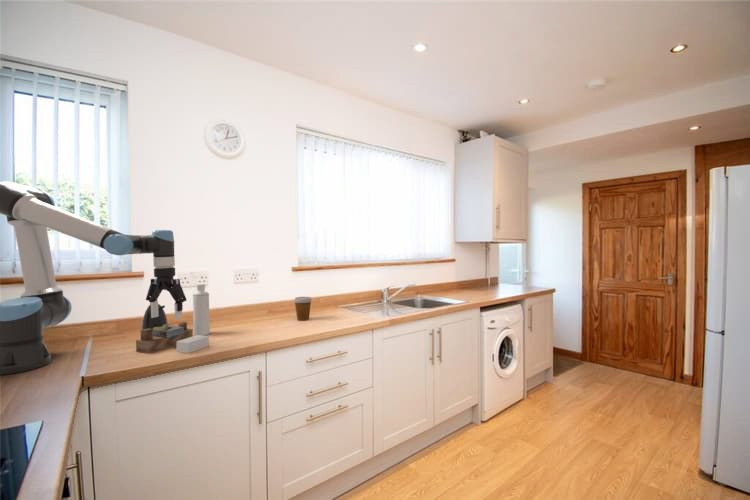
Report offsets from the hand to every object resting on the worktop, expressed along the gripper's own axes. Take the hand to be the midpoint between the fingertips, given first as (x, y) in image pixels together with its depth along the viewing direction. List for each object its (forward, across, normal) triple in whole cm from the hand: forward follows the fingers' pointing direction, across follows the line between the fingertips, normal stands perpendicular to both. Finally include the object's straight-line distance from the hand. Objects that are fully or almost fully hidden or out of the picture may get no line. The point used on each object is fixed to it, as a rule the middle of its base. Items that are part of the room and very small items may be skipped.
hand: (166, 318), depth 141 cm
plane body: (+11, 0, 0) cm, 11 cm away
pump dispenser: (+11, +18, -8) cm, 22 cm away
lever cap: (+7, 0, 0) cm, 7 cm away
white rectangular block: (+11, -15, 0) cm, 19 cm away
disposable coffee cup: (+12, -28, -59) cm, 66 cm away
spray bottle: (+12, 0, -18) cm, 21 cm away
